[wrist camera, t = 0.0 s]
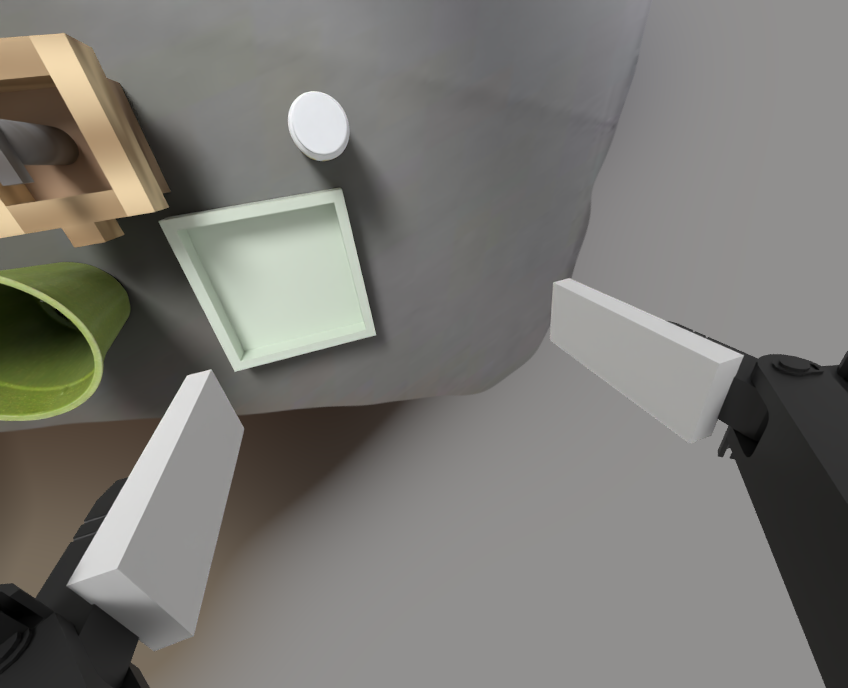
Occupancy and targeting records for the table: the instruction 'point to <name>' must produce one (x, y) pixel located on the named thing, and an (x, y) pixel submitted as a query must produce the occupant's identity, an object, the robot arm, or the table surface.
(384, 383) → the table surface
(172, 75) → the table surface
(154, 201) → the wooden frame with peg
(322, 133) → the supplement bottle
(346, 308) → the tray
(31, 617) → the robot arm
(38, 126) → the wooden block
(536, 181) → the table surface
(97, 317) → the plant pot
